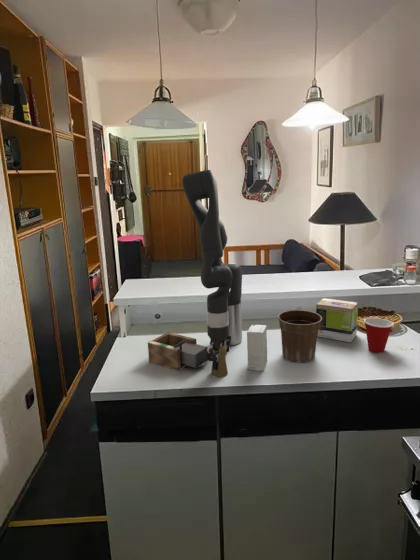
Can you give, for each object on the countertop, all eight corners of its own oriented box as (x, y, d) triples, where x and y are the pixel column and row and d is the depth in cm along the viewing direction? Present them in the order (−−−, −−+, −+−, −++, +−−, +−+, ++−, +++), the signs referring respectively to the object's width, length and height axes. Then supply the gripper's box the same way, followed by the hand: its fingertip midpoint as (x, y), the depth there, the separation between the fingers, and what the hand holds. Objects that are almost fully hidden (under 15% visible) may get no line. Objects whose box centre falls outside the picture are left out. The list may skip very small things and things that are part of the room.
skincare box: (263, 371, 153) (263, 333, 149) (246, 369, 155) (246, 331, 151) (267, 361, 161) (267, 324, 157) (251, 359, 162) (251, 323, 158)
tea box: (356, 334, 182) (359, 301, 178) (350, 343, 174) (352, 309, 170) (322, 328, 190) (323, 296, 186) (314, 336, 182) (315, 303, 178)
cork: (226, 377, 150) (225, 349, 147) (209, 376, 151) (208, 348, 148) (229, 369, 155) (228, 341, 152) (212, 368, 156) (211, 341, 154)
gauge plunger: (209, 359, 159) (208, 340, 157) (193, 370, 151) (192, 351, 149) (187, 353, 165) (186, 335, 163) (171, 364, 157) (169, 345, 155)
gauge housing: (197, 358, 165) (196, 337, 163) (178, 370, 156) (176, 349, 154) (168, 350, 173) (167, 331, 171) (149, 362, 163) (147, 341, 161)
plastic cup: (395, 348, 167) (398, 320, 164) (384, 358, 160) (387, 328, 157) (368, 341, 175) (370, 314, 171) (357, 350, 167) (359, 321, 164)
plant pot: (293, 343, 175) (294, 306, 171) (328, 355, 164) (330, 315, 160) (268, 356, 164) (269, 317, 160) (304, 370, 153) (306, 328, 149)
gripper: (219, 314, 156) (221, 357, 160) (197, 327, 144) (199, 373, 149) (237, 318, 151) (238, 362, 156) (215, 331, 140) (217, 378, 145)
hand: (219, 367), depth 152 cm, fingers closed on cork, 4 cm apart
